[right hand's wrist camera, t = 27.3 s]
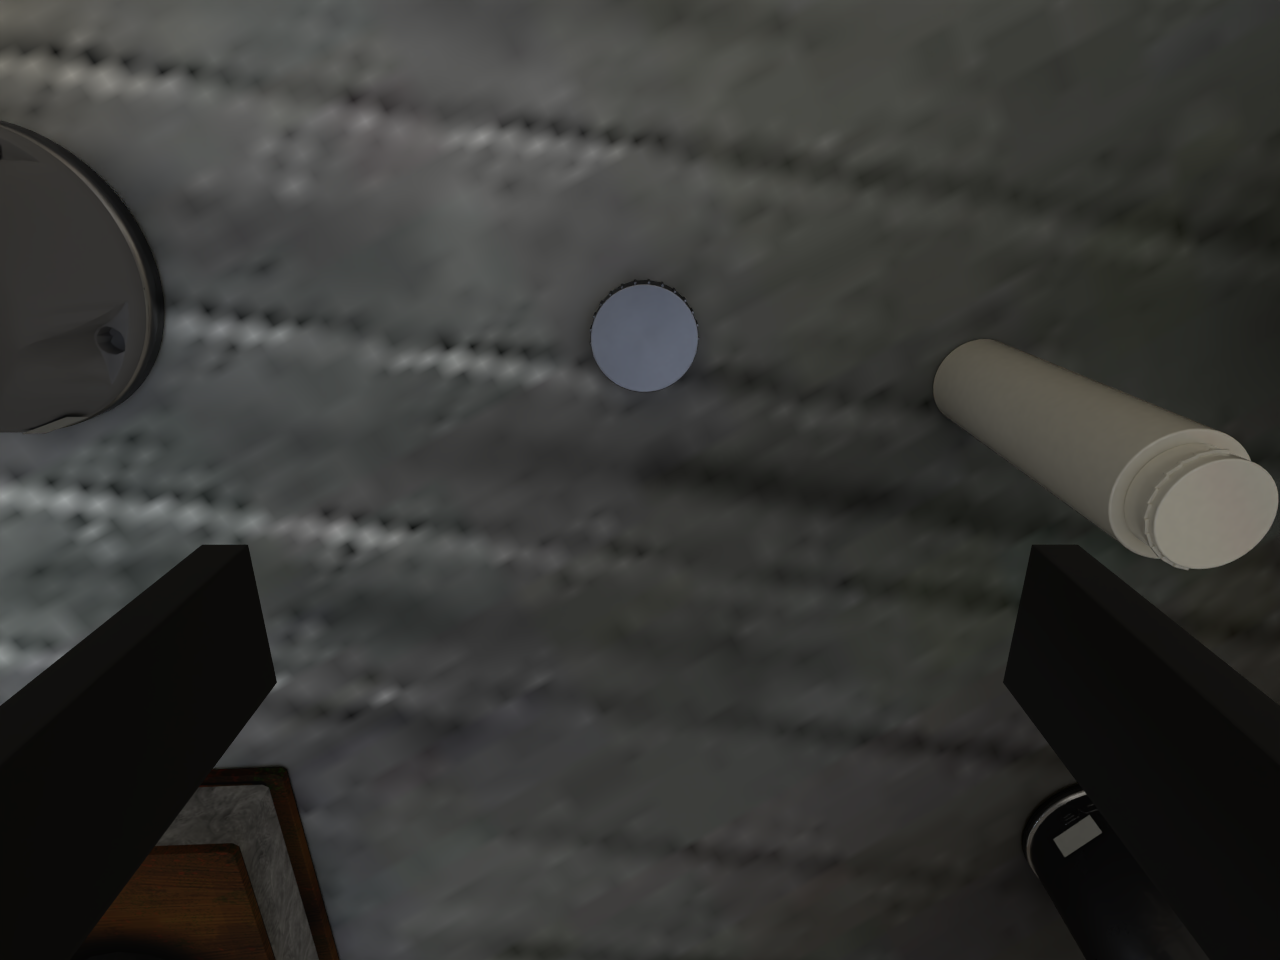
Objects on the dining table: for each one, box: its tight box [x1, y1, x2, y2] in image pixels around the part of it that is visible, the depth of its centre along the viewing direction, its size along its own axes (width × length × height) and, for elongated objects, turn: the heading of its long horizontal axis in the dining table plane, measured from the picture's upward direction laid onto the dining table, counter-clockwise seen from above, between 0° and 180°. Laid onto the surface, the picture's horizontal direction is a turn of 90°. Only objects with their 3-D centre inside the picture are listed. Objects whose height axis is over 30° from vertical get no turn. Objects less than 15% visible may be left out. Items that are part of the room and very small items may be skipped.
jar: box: [933, 339, 1278, 570], centre depth 32 cm, size 5×5×18 cm
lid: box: [590, 279, 699, 392], centre depth 38 cm, size 6×6×2 cm
